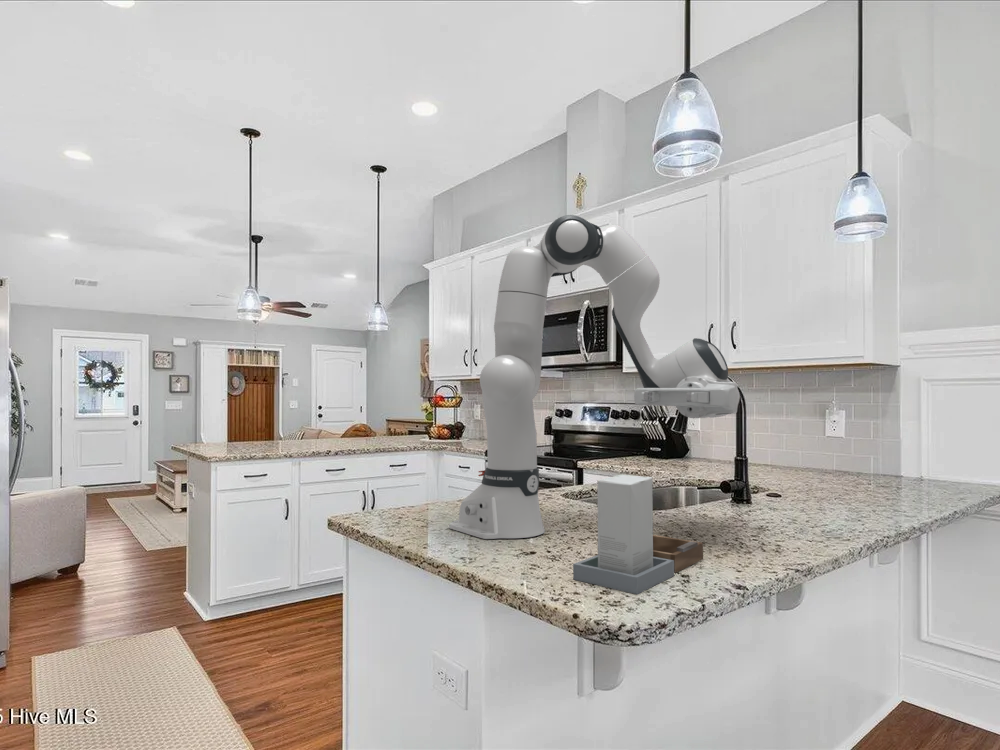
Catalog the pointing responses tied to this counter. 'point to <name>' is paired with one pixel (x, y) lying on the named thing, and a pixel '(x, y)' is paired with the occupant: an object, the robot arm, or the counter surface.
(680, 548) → the walnut caddy
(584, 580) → the slate tray
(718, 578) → the counter surface
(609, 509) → the skincare box
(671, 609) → the counter surface
